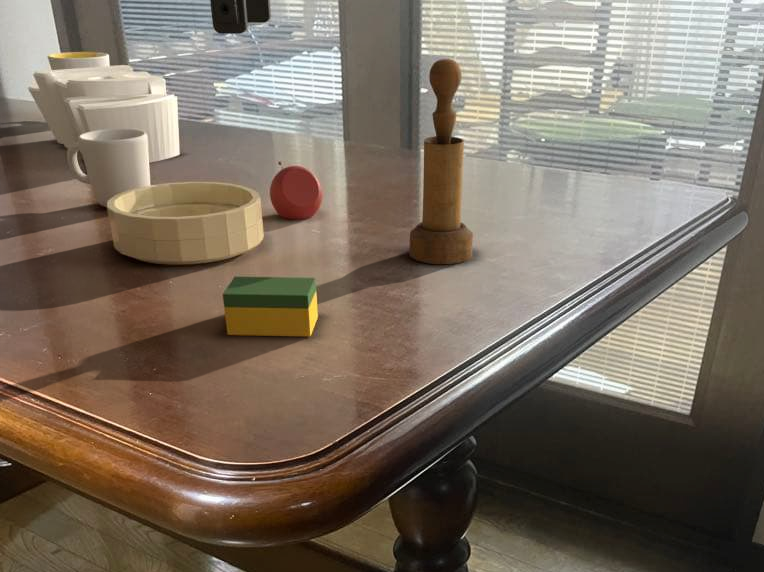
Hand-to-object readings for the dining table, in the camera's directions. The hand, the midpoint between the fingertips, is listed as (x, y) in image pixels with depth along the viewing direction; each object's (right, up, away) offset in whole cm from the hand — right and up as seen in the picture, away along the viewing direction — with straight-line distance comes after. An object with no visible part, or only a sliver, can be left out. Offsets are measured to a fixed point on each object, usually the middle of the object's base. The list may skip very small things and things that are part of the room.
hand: (244, 27), depth 62 cm
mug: (-46, +40, +97) cm, 115 cm away
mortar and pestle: (+15, -7, +29) cm, 34 cm away
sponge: (0, -18, +13) cm, 22 cm away
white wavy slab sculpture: (-34, +24, +74) cm, 85 cm away
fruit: (-2, +3, +43) cm, 43 cm away
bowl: (-12, -5, +32) cm, 34 cm away
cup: (-25, +5, +47) cm, 53 cm away
